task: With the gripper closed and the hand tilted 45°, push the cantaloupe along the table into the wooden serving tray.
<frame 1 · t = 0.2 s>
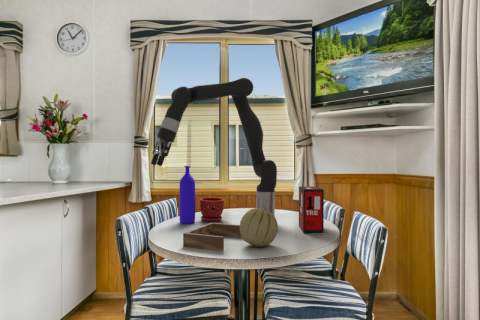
hand: (155, 164, 142), 31 cm above the table, tool tilted 20°, fingers open, 8 cm apart
plant pot: (212, 220, 182), on the table
bottle: (187, 223, 175), on the table
wooden serving tray: (216, 241, 135), on the table
cantaloupe: (258, 246, 128), on the table
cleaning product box: (310, 230, 158), on the table
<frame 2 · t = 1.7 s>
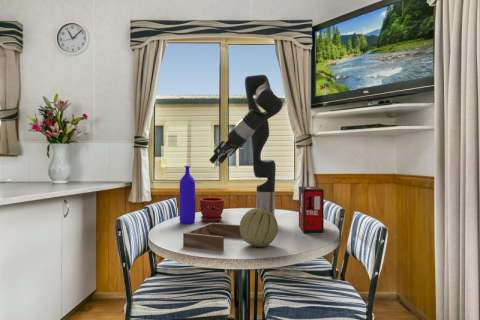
hand: (215, 161, 137), 32 cm above the table, tool tilted 45°, fingers open, 7 cm apart
nothing on the table moved.
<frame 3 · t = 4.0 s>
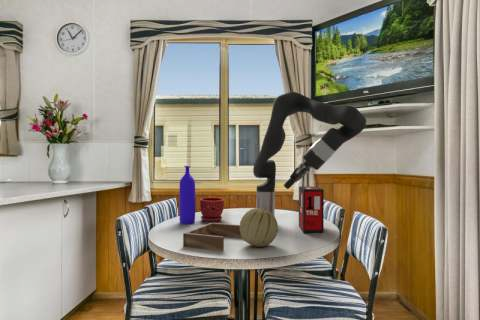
hand: (285, 187, 124), 23 cm above the table, tool tilted 45°, fingers closed
nothing on the table moved.
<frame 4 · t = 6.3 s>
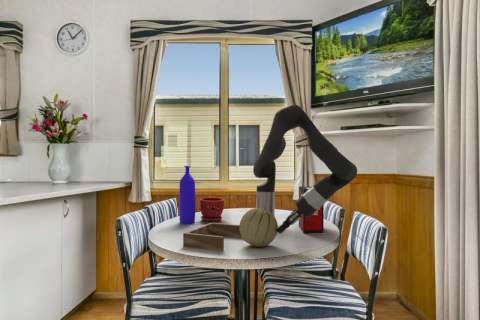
hand: (278, 231, 126), 6 cm above the table, tool tilted 45°, fingers closed
cantaloupe: (258, 246, 128), on the table, touching gripper
everything else where it was.
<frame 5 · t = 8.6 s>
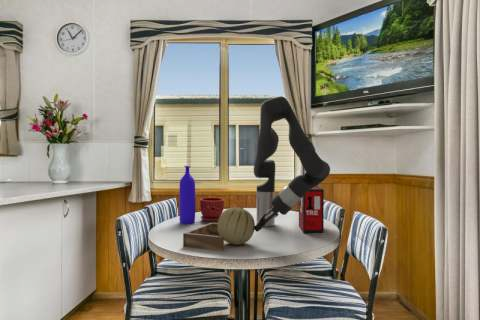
hand: (255, 229, 129), 6 cm above the table, tool tilted 45°, fingers closed
cantaloupe: (236, 244, 131), on the table, touching gripper
everything else where it was.
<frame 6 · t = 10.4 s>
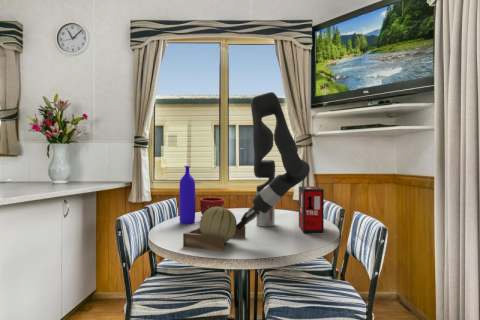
hand: (238, 227, 132), 6 cm above the table, tool tilted 45°, fingers closed
cantaloupe: (218, 243, 132), on the table, touching gripper
everything else where it was.
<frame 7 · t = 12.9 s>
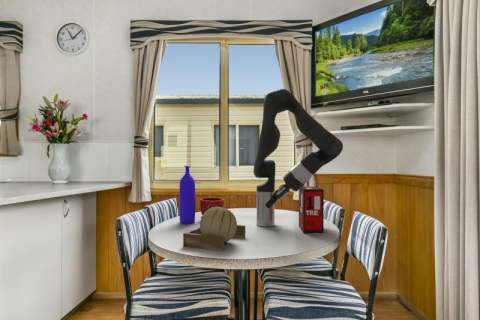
hand: (267, 206, 130), 15 cm above the table, tool tilted 45°, fingers closed
cantaloupe: (218, 243, 132), on the table
everything else where it was.
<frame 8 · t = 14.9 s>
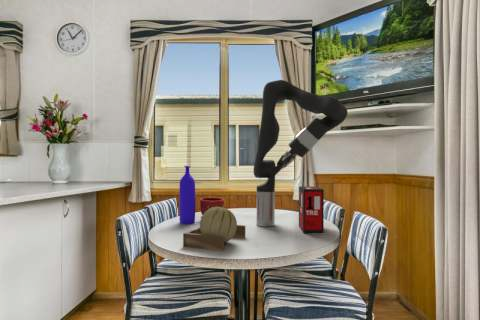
hand: (272, 173, 132), 28 cm above the table, tool tilted 45°, fingers closed
nothing on the table moved.
at the end: cantaloupe inside the target area (2.3 cm from its centre), on the table; cantaloupe moved 16.4 cm from its start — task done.
